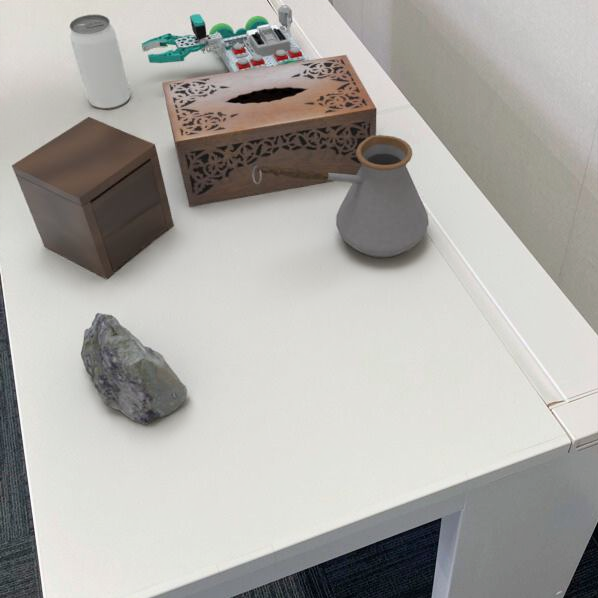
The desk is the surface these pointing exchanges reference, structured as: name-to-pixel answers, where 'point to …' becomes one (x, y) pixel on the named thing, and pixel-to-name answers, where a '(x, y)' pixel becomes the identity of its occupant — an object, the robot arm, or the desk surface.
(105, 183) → the wooden drawer cube
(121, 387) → the mineral rock
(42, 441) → the desk surface
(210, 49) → the robot kit
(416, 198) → the coffee pot
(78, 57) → the can
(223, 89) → the tissue box cover
